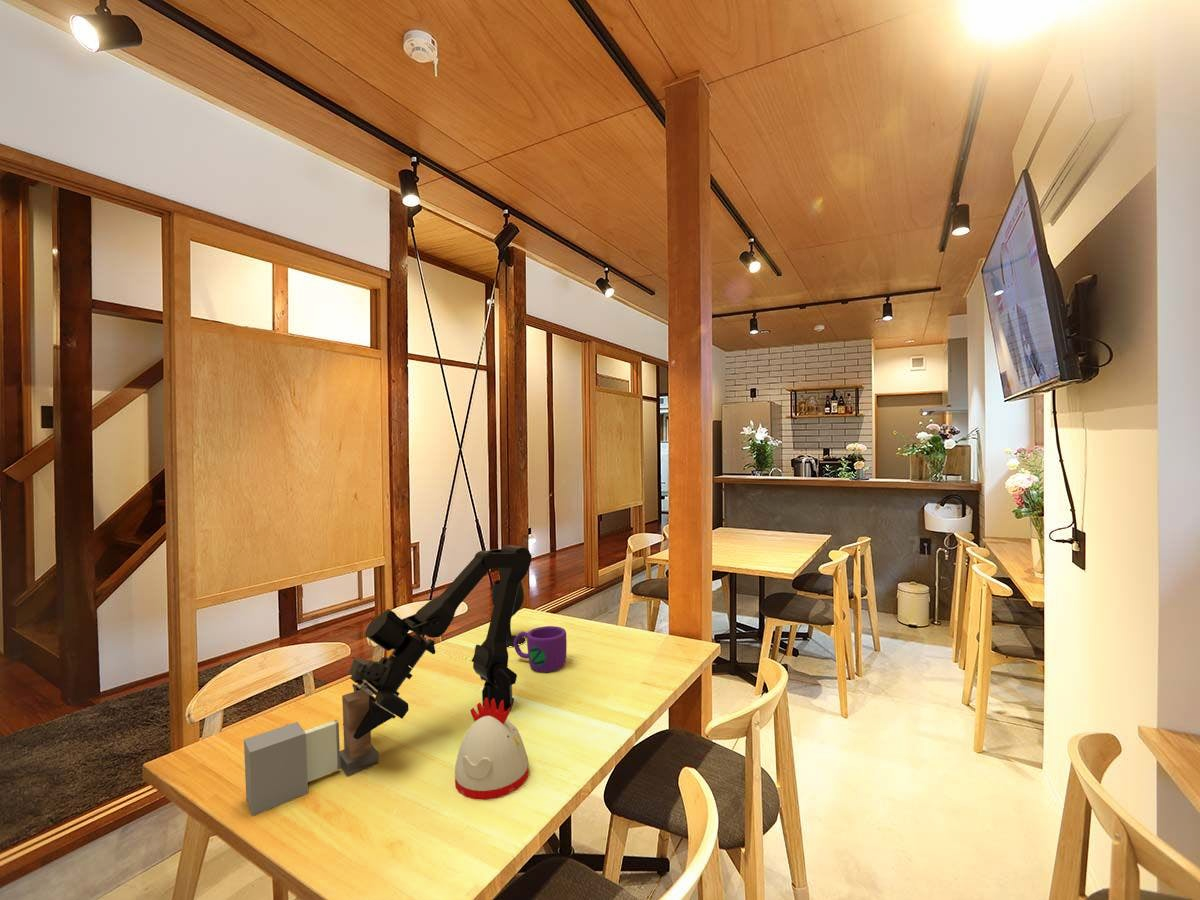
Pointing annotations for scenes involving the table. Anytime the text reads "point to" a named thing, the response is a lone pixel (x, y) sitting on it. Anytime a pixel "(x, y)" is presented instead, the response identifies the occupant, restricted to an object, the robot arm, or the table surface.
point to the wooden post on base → (355, 750)
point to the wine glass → (516, 607)
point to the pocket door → (322, 750)
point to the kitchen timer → (491, 755)
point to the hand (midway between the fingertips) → (349, 732)
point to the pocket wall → (275, 767)
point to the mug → (544, 648)
